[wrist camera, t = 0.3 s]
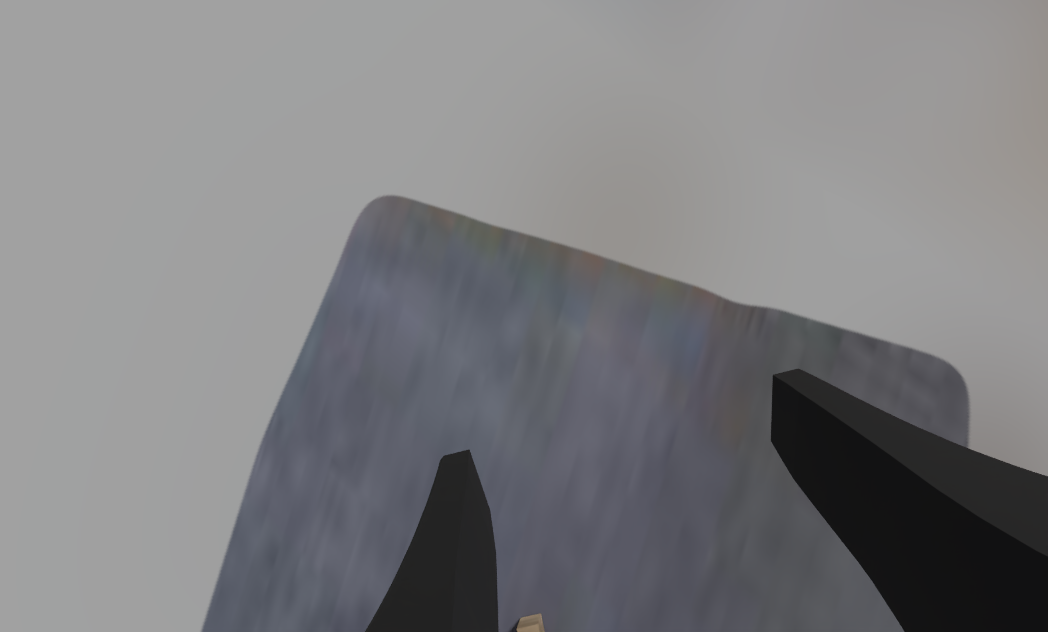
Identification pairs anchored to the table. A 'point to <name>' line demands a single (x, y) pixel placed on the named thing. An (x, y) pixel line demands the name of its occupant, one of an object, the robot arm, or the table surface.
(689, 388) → the table surface
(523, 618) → the pair of wooden posts
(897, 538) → the robot arm
